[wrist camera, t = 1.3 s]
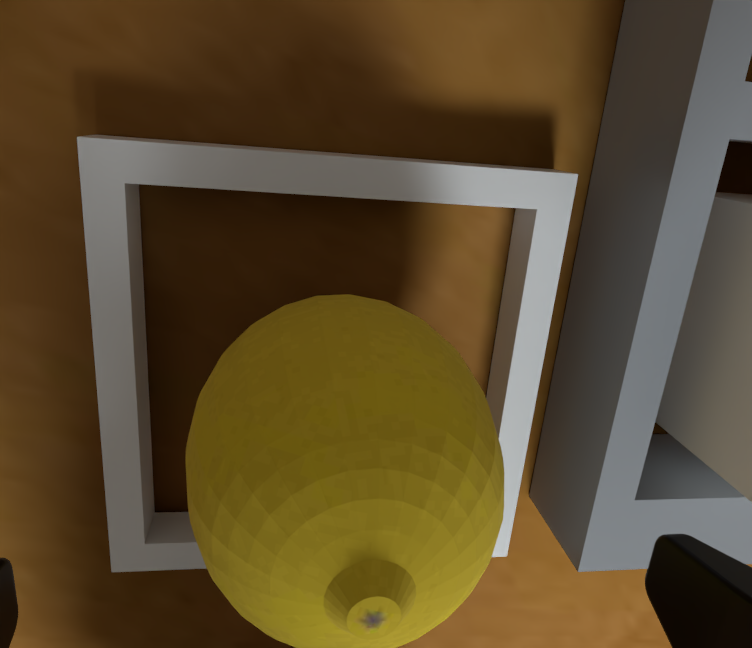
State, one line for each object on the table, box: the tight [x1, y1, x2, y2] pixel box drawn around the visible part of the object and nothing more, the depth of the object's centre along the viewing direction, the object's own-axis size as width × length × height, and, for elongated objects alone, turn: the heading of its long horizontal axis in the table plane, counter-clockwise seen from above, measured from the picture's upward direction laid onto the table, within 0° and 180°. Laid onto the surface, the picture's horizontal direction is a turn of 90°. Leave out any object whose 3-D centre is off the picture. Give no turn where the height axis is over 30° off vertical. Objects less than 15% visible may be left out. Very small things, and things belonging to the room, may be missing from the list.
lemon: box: [185, 294, 504, 648], centre depth 11 cm, size 6×6×8 cm
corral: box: [77, 135, 578, 572], centre depth 14 cm, size 10×10×1 cm
